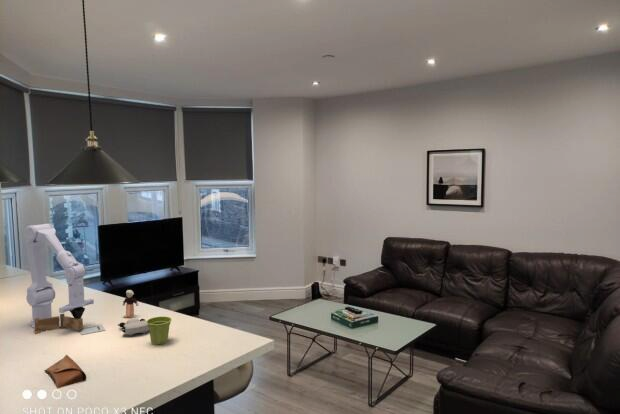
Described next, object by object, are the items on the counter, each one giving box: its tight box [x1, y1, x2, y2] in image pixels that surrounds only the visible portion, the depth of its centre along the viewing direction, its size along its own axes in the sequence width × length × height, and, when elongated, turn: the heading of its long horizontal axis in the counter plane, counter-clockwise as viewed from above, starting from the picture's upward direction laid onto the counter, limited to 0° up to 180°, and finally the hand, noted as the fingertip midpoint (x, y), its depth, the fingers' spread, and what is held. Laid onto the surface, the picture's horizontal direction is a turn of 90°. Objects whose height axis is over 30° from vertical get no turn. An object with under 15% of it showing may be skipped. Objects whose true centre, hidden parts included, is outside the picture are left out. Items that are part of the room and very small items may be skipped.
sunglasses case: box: [44, 354, 87, 389], centre depth 140 cm, size 18×7×7 cm
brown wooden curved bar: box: [59, 313, 84, 332], centre depth 182 cm, size 14×2×5 cm, turn 64°
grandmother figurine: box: [122, 289, 139, 319], centre depth 197 cm, size 8×4×13 cm, turn 92°
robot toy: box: [117, 317, 149, 336], centre depth 180 cm, size 12×4×15 cm
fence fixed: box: [33, 315, 67, 335], centre depth 182 cm, size 5×12×6 cm, turn 124°
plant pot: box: [145, 315, 172, 345], centre depth 168 cm, size 9×9×9 cm
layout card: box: [79, 323, 106, 336], centre depth 182 cm, size 9×9×1 cm
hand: (77, 324), depth 182 cm, fingers closed
